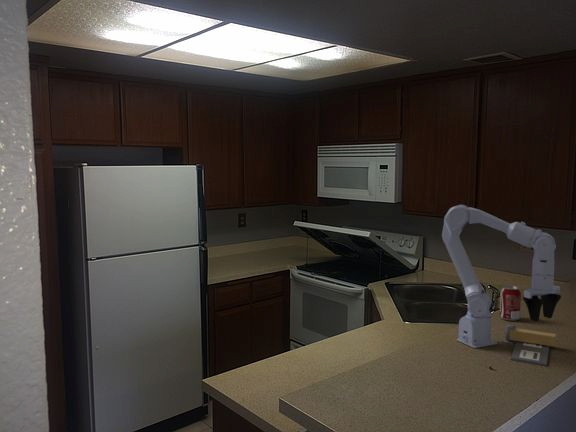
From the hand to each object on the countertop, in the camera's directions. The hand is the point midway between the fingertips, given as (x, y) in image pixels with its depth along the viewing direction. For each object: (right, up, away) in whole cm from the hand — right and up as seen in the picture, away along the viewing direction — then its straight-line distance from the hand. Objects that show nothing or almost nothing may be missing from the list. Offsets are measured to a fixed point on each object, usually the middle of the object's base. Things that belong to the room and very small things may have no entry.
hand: (541, 319), depth 143 cm
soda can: (+7, -8, +34) cm, 36 cm away
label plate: (-3, -10, +1) cm, 10 cm away
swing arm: (0, -9, +7) cm, 11 cm away
